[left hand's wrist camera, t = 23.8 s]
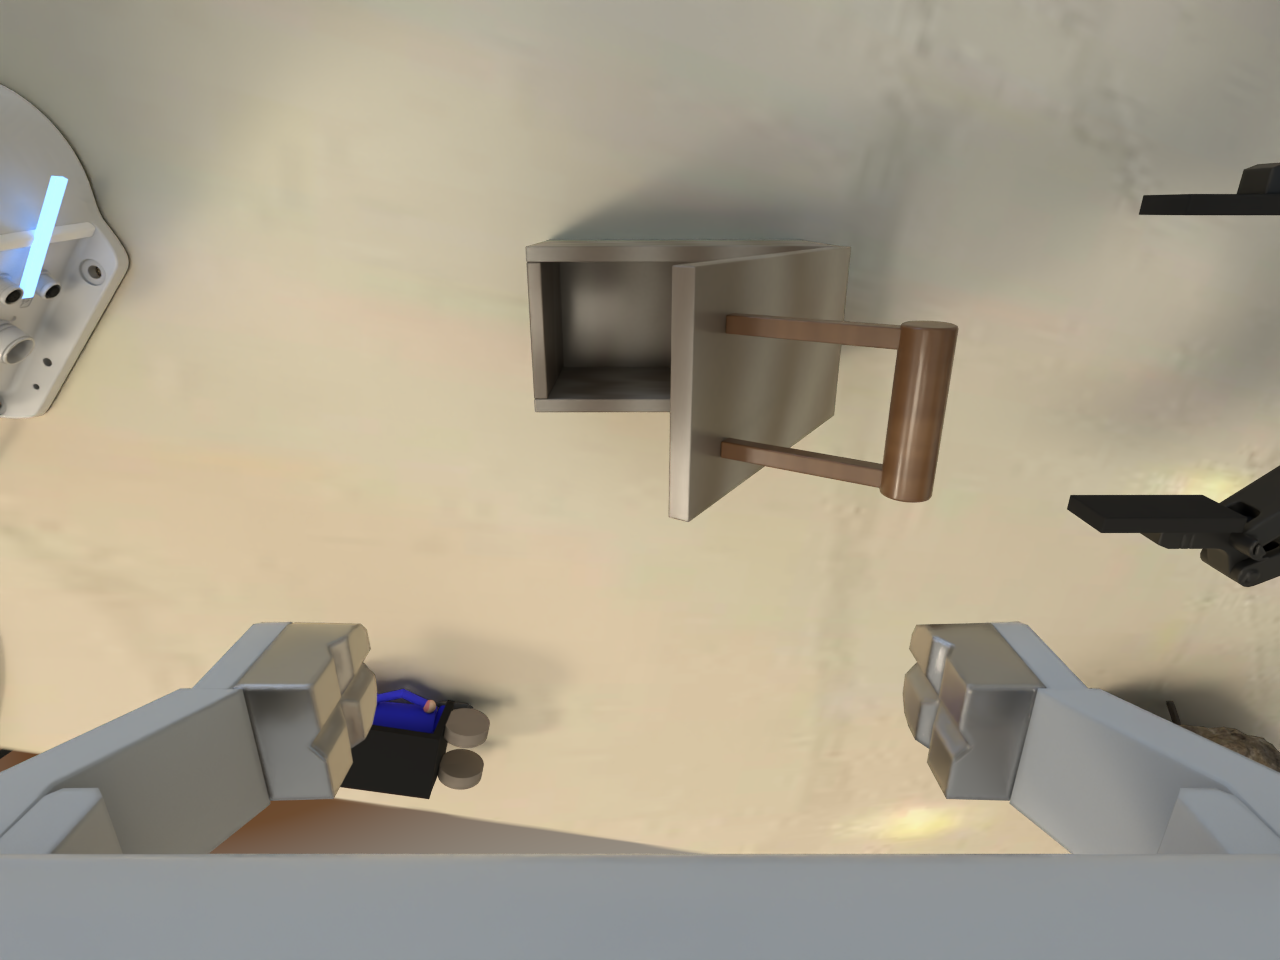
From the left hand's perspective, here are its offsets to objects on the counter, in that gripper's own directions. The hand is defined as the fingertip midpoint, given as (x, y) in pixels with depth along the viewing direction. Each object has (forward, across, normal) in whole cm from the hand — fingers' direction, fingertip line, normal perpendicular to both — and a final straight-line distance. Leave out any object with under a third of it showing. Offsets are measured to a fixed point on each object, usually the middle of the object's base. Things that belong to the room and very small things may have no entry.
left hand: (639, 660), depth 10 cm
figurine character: (+41, +20, +34) cm, 57 cm away
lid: (+23, -6, 0) cm, 24 cm away
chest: (+41, -2, 0) cm, 41 cm away
